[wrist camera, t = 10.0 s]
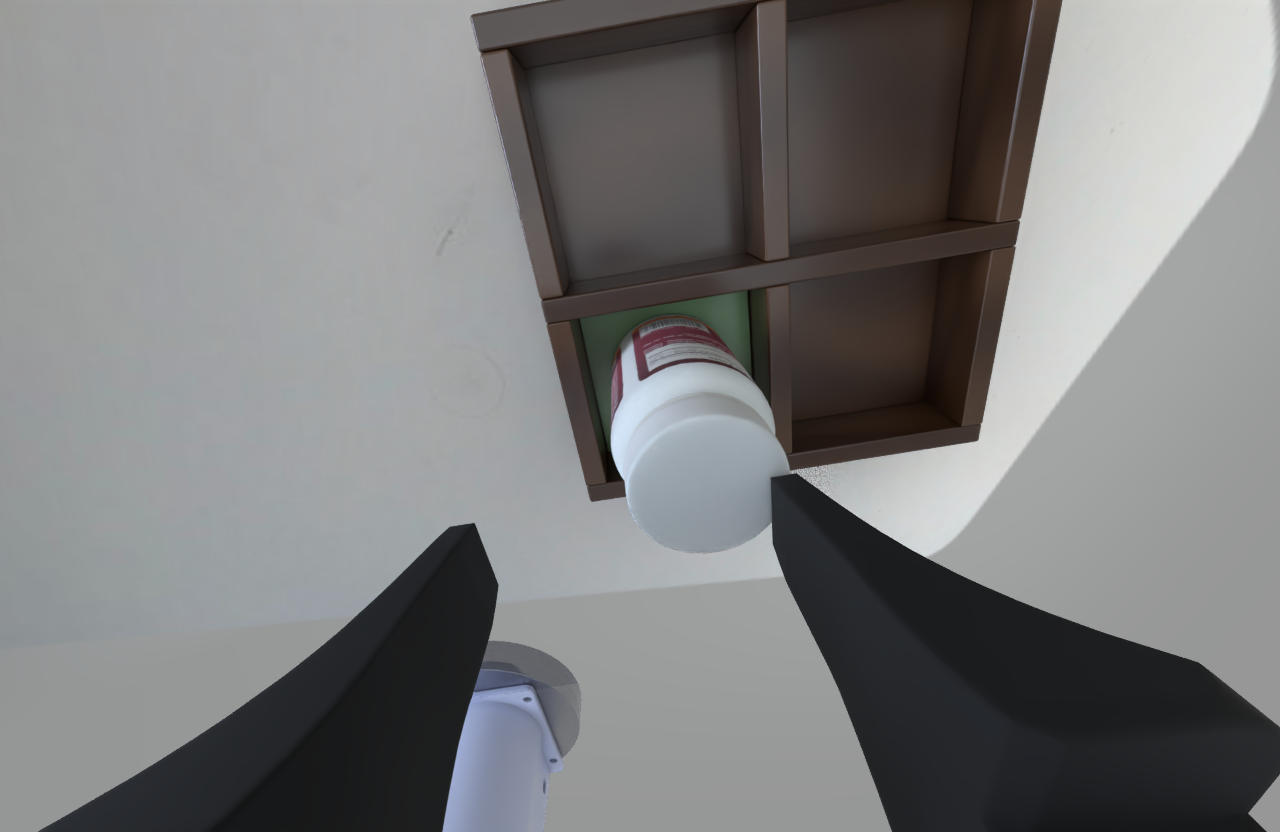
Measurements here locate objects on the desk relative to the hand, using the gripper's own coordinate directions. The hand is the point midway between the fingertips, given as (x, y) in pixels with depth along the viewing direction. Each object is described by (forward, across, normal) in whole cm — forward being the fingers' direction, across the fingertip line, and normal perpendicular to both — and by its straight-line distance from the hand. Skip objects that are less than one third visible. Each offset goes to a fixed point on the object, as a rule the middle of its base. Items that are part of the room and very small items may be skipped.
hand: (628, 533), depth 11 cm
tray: (+9, -6, -4) cm, 12 cm away
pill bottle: (+9, -2, -1) cm, 9 cm away
